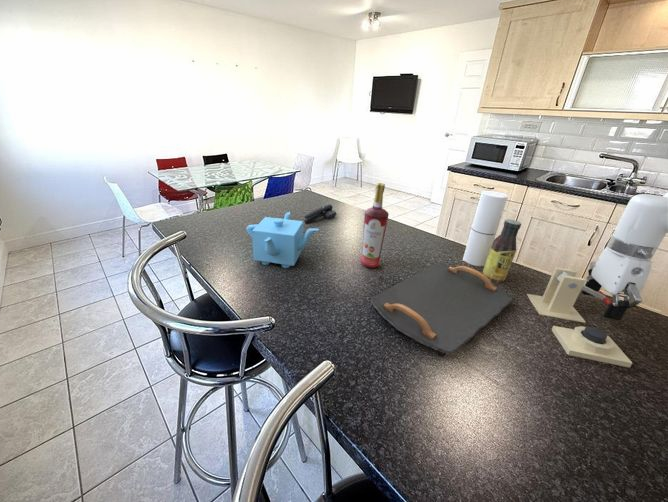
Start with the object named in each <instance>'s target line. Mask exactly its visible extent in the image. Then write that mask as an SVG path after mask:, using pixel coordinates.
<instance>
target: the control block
mask: <svg viewBox="0 0 668 502" xmlns="http://www.w3.org/2000/svg"><path fill="white" fill-rule="evenodd" d="M586 327H587V326H582V325H579V326H575V327H574V329H573V328H570V327H569V328H568V327H563V326H557V325H552V328H551V332H552V333H553V334H554V336H555V338H556V339H557V341H558V343H559V344H560V345H561V347H562V349H563V350H564V351H565V353H566V354H567V355H568V356H572V357H575V358H581V359H586V360H590V361H596V362H600V363H605V364H611V365H615V366H620V367H623V368H624V367H625V368H631V366H633V362H632V361H631V359H630V358H629V357H628V356H627V355H626V354H625V352H623V350H622V349H621V347H619V346H618V344H617V343H616V342H615V341H614V340H613V339H612V338H611V337H610V336H609V335H607V338H606V340H605V342H604V343H603V344H598V343H594V342H592V341H590V340H588V339H587V338H585V337H584V336H583V335H582V333H583V331H584V329H585V328H586Z"/></svg>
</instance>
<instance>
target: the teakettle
mask: <svg viewBox="0 0 668 502" xmlns="http://www.w3.org/2000/svg"><path fill="white" fill-rule="evenodd" d="M290 217H291V211H287V212H285V214H284V217H283V218H279V217H269V216H265V217H264V218H263V219H262V220H261V221H260V222H259V223H258V224H249V225H247V226H246V232H247V234H248V235H249V236H250V237H251V240H252V256H253V257H252V259H253V260H254V261H259V262H260V263H261V264H262V265H265V266H266V265H267V266H268V265H270V264H271V263H272V264H279V265H281V267H282V268H283V269H287V268H290V267H291V266H292V267H294V266H295V265H296V263H297V261H298V259H299V257H300V255H301V253H302V251H303V249H305V248H306V247H307V245H308V244H309V240H310V237H311V236H312V235H313V234H314V233H316V232H318V231H319V230H320V228H317V227H316V228H315V227H311V228H308V229H307V230H306V232H305V234H304V220H296V219H295V220H294V219H290Z"/></svg>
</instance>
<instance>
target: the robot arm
mask: <svg viewBox="0 0 668 502" xmlns="http://www.w3.org/2000/svg"><path fill="white" fill-rule="evenodd" d="M667 234H668V192H666V193H665V194H663V195H658V194H649V193H640V194H639V193H638V194H636V195H634V196H632V197H631V198H630V200H629V201H628V202H627V204H626V207H625V209H624V211H623V212H622V215H621V217H620V219H619V220H618V222H617V224H616V227H615V229H614V231H613V233H612V235H611V237H610V239H609V240H608V243H607V244H606V246H605V248H604V249H603V250H602V252H601V254H600V255H599V256H598V258H597V260H596V261H590V262H589V269H588V271H587V273H588V276H586V281H585V283H584V286H586V287H588V288H590V289H592V290H594V291H596V292H597V291H601V288H603V289H605V291H607V292H608V293H609V294H611V295H612V302H613V304H612V303H610V304H609V306H608V305H607V308H606V309H605V311H604V313H603V315H602V316H603V318H604V319H609V320H615V321H621V320H622V318H623V316H624V315H625V313H626V311H627V310H629V309H631V308H635V307H636V306H637V305H639V304H641V303H642V302H643V299H642V297H641V292H642V290H643V288H644V286H645V284H646V283H647V280H648V277H649V275H650V272H651V269H652V264H653V261H652V258H653V257H654V255H655V254H656V251H657V250H658V248H659V247H660V244H661V243H662V241H663V240H664V239H665V236H666V235H667ZM581 294H582V295H585V296H590V297H594V296H593V295H591V294H589V293H587V292H585V291H583V290H582V289H581ZM620 298H623V300H620Z"/></svg>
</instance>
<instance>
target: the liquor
mask: <svg viewBox="0 0 668 502" xmlns="http://www.w3.org/2000/svg"><path fill="white" fill-rule="evenodd" d="M385 187H386V184H385V183H381V182H377V183H375V187H374V192H375V193H374V198H373V202H372V207H368V208H367V209H365V211H364V219H363V233H362V250H361V257H360V259H359V262H360V263H361V264H362V266H364V267H365V268H368V269H375V268H377V267H379V266H381V264H382V263H381V255H382V250H383V245H384V244H383V243H384V240H385V235H386V231H387V225H388V220H389V215H390V214H389V212H388V211H387V210H386V209H385V208H383V202H384V201H383V199H384V193H385Z"/></svg>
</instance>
